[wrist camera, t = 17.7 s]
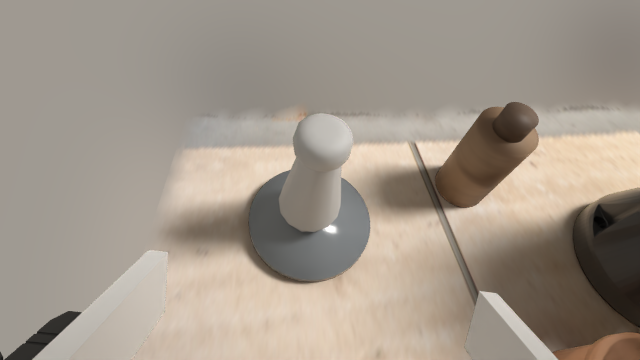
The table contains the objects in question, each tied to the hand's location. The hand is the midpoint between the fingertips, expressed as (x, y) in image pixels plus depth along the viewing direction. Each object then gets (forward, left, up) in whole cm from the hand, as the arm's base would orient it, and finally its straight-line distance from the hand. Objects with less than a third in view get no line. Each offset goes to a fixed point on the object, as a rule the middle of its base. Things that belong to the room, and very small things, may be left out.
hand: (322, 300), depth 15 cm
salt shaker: (-4, -12, -17) cm, 21 cm away
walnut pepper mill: (-22, -12, -18) cm, 31 cm away
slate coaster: (-4, -11, -18) cm, 21 cm away
